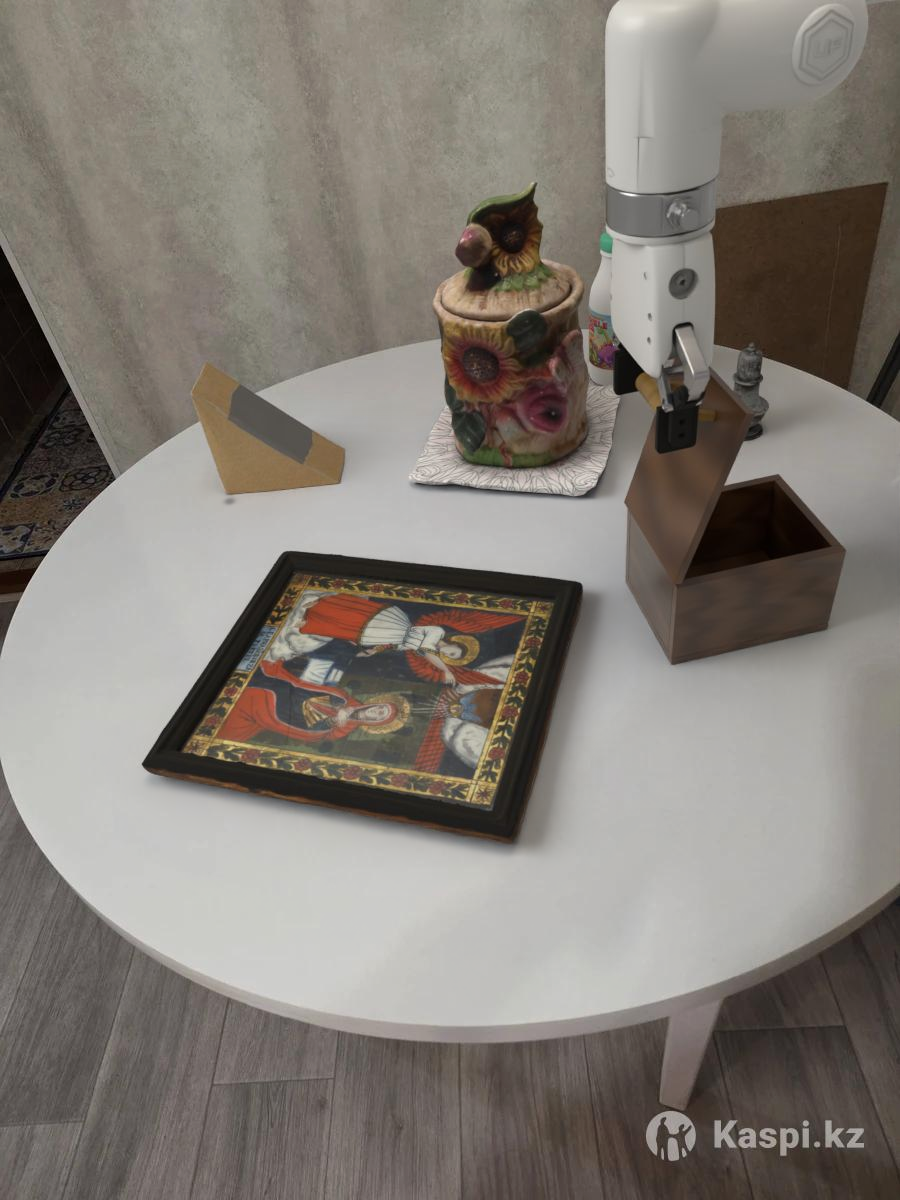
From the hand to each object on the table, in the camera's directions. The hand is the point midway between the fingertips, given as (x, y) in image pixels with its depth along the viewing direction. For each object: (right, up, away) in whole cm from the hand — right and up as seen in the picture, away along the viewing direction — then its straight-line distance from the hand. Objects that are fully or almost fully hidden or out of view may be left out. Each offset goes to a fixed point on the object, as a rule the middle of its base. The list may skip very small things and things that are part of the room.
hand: (652, 418), depth 72 cm
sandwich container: (-39, +2, +44) cm, 59 cm away
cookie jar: (-7, +6, +43) cm, 44 cm away
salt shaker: (+21, +7, +39) cm, 45 cm away
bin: (+11, -15, +16) cm, 25 cm away
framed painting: (-24, -23, +14) cm, 36 cm away
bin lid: (+4, -3, +4) cm, 6 cm away
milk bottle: (+7, +17, +53) cm, 56 cm away
